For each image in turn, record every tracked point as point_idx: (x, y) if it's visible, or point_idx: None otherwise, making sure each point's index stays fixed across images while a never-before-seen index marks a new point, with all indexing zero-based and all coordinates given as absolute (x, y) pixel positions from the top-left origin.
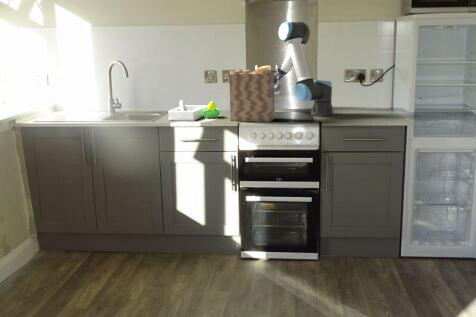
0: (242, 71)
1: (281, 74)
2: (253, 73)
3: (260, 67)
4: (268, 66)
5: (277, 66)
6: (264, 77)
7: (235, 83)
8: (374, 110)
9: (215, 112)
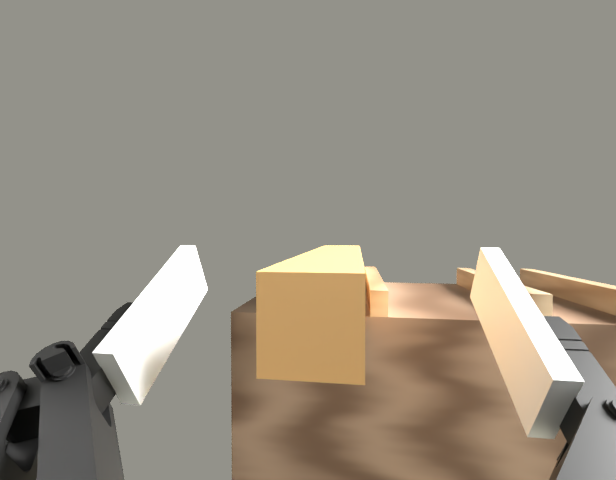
0: (464, 268)
1: (34, 455)
2: (397, 287)
3: (353, 248)
4: (295, 257)
5: (165, 267)
6: None
7: None
8: None
9: None
